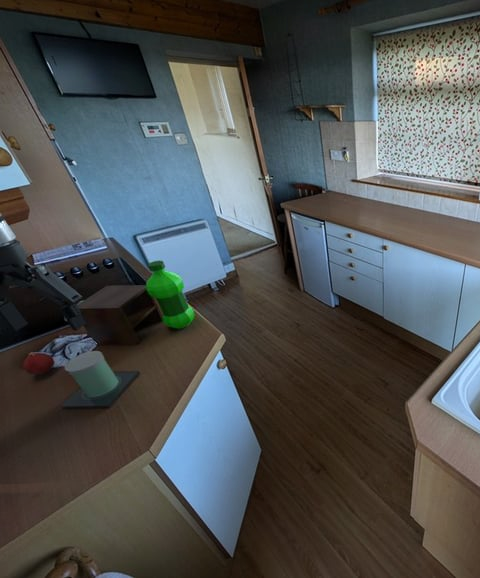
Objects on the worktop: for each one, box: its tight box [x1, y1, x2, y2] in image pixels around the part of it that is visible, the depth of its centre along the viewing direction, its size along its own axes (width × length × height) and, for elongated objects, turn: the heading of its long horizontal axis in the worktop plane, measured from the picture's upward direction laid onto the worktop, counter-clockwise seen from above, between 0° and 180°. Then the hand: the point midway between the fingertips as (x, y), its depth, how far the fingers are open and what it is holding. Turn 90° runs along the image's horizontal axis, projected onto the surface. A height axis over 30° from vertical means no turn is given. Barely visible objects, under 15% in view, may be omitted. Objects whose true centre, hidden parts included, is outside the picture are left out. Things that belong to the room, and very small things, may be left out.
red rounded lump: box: [22, 352, 55, 375], centre depth 85 cm, size 6×6×8 cm
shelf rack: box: [77, 284, 163, 346], centre depth 100 cm, size 14×14×15 cm
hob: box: [60, 370, 141, 410], centre depth 82 cm, size 12×12×1 cm
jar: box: [64, 350, 119, 398], centre depth 79 cm, size 7×7×10 cm
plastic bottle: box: [145, 260, 195, 330], centre depth 101 cm, size 10×10×25 cm
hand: (50, 327), depth 70 cm, fingers open, 13 cm apart
